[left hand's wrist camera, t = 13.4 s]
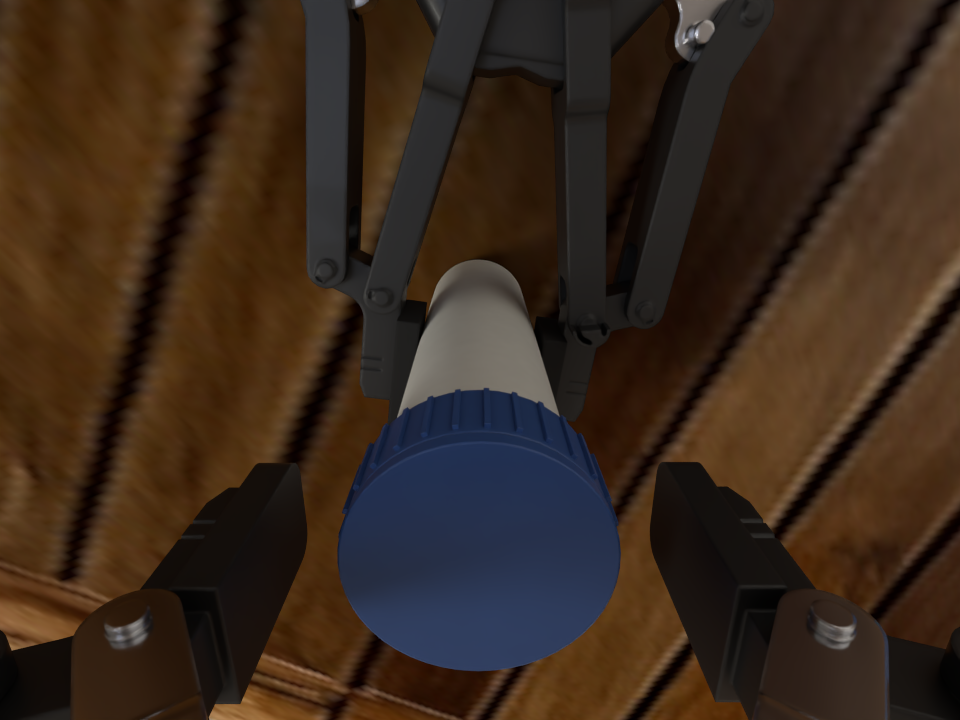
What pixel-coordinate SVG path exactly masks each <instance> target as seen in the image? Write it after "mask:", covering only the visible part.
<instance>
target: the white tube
mask: <svg viewBox="0 0 960 720" xmlns="http://www.w3.org/2000/svg"><path fill="white" fill-rule="evenodd" d="M484 388H489V390H491V391H501V392H505V393H510V394H511V393H512V392H516V393H517V394H518V396H521V397H524V398H527V399H530V400H532V401H534V402H536V403H538V401H540V402H542V403H543V404H544V407H546V408H548V409H549V410H551V411H552V412H554V413H555V414H557V415H558V416H559V413H558V410H557V406H556V403H555V400H554V396H553V393H552V390H551V387H550V383H549V380H548V377H547V374H546V370H545V367H544V364H543V360H542V357H541V354H540V351H539V347H538V344H537V341H536V338H535V334H534V331H533V328H532V324H531V321H530V318H529V315H528V311H527V308H526V305H525V302H524V298H523V295H522V292H521V289H520V286H519V284H518V282H517V281H516V279H515V278H514V276H513V275H512V274H511V273H510V272H509V271H508V270H506V269H505V268H504V267H502V266H500V265H498V264H496V263H494V262H491V261H487V260H470V261H465V262H462V263H460V264H457V265H455V266H454V267H452V268H451V269H450V270H448V271H447V272H446V273H445V274H444V275H443V276H442V278H441V279H440V281H439V282H438V284H437V286H436V289H435V292H434V295H433V298H432V302H431V305H430V308H429V312H428V315H427V318H426V322H425V325H424V329H423V332H422V335H421V339H420V342H419V345H418V349H417V352H416V356H415V359H414V362H413V366H412V369H411V372H410V376H409V379H408V383H407V386H406V389H405V393H404V396H403V399H402V403H401V406H400V410H399V413H398V416H397V418H398V417H399V416H400V415H401V414H402V412H403V410H404V409H405V408H407V407H408V408H409V409H411V408H412V407H414V406H416V405H417V404H419V403H422V402H424V401H426V400H427V398H428V397H429V396H432V395H433V397H437V396H440V395H444V394H447V393H452V392H455V390H456V389H461V391H465V390H483V389H484ZM559 417H560V416H559Z"/></svg>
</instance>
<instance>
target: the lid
mask: <svg viewBox="0 0 960 720" xmlns="http://www.w3.org/2000/svg"><path fill="white" fill-rule="evenodd" d="M610 501H612V500H611V497H610V495H609V492H608V489H607V487H606V484H605V481H604V479H603V476H602V474H601V471H600V468H599V466H598V463H597V460H596V458H595V455H594V454H591V455H590V453H589V451H588V448H587V445H586V442H585V440H584V437H583V435H582V434H581V433H579V434H578V435H577V433H576V432H575V431H574V430H573V429H572V428H571V427H570V425H569V424H567V420H566V418H565V417H564V416H563V415H561V416H560V417H559V416H558V415H557V414H555V413H554V412H552V411H551V410H549V409H548V408H546V407H544V404H543V403H542V402H540V401H538V403H536V402H534V401H532V400H530V399H527V398H524V397H521V396H518V394H517V393H516V392H512V393H511V394H510V393H505V392H501V391H491V390H489V388H484V389H483V390H465V391H461V389H456V390H455V392H452V393H447V394H444V395H440V396H437V397H433V395H432V396H429V397H428V398H427V400H426V401H424V402H422V403H419V404H417V405H416V406H414V407H412V408H411V409H409V408H408V407H407V408H405V409H404V410H403V412H402V414H401V415H400V416H399V417H398V418H396V419H395V420H394V421H393V422H392V423H391V424H390V425H388V424H387V423H386V424H385V425H384V426H383V428H382V431H381V434H380V436H379V437H378V439H377V440H376V441H375V443H374V444H372V443H370V444H369V445H368V447H367V450H366V453H365V456H364V458H363V461H362V464H361V465H359V468H358V471H357V473H356V476H355V479H354V481H353V484H352V487H351V489H350V492H349V495H348V498H347V500H346V503H345V506H344V508H343V512H342V513H343V514H346V515H345V518H344V520H343V523H342V526H341V529H340V532H339V543H338V568H339V574H340V579H341V582H342V585H343V589H344V592H345V594H346V596H347V598H348V600H349V602H350V604H351V606H352V608H353V609H354V611H355V612H356V613H357V615H358V616H359V618H360V619H361V620H362V621H363V622H364V624H365V625H366V626H367V627H368V628H369V629H370V630H371V631H372V632H373V633H374V634H376V635H377V636H378V637H379V638H380V639H382V640H383V641H384V642H386V643H387V644H389V645H390V646H392V647H393V648H395V649H396V650H398V651H400V652H402V653H404V654H406V655H408V656H410V657H412V658H415V659H418V660H420V661H423V662H425V663H429V664H433V665H436V666H440V667H445V668H451V669H457V670H469V671H489V670H499V669H507V668H512V667H517V666H521V665H525V664H528V663H531V662H534V661H537V660H540V659H543V658H545V657H547V656H549V655H551V654H553V653H556V652H557V651H559V650H561V649H562V648H564V647H566V646H567V645H569V644H571V643H572V642H573V641H574V640H576V639H577V638H578V637H580V636H581V635H582V634H583V633H584V632H585V631H586V630H587V629H588V628H589V627H590V626H591V625H592V624H593V623H594V622H595V621H596V620H597V618H598V617H599V616H600V614H601V613H602V612H603V610H604V609H605V607H606V605H607V603H608V602H609V600H610V598H611V596H612V593H613V591H614V588H615V586H616V583H617V578H618V574H619V569H620V556H621V551H620V541H619V535H618V532H617V528H616V526H618V520H617V518H616V515H615V512H614V510H613V507H612V504H611V502H610Z"/></svg>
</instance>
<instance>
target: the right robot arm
mask: <svg viewBox="0 0 960 720" xmlns="http://www.w3.org/2000/svg"><path fill="white" fill-rule="evenodd" d="M300 1H301V4H302V7H303V11H304V14H305V17H306V210H307V272H308V276H309V277H310V279H311V280H312V282H313V283H315V284H316V285H317V286H319V287H323V288H334V289H336V290H338V291H340V292H342V293H344V294H347V295H349V296H350V297H352V298H353V299H355V300H356V301H357V302H358V303H359V305H360V307H361V308H362V311H363V315H364V324H363V340H362V357H361V370H360V386H361V388H362V391H363V394H364V397H369V398H377V399H386V400H390V404H389V416H388V425H390V424H391V423H392V422H393V421H394V420H395V419H396V418H397V416H398V413H399V410H400V406H401V403H402V399H403V396H404V393H405V389H406V386H407V383H408V379H409V376H410V372H411V369H412V366H413V362H414V359H415V356H416V352H417V349H418V345H419V342H420V339H421V335H422V332H423V329H424V325H425V316H426V306H427V302H421V301H414V300H406V294H407V288H408V286H409V284H410V282H411V281H410V279H411V276H412V273H413V270H414V267H415V264H416V261H417V257H418V254H419V251H420V248H421V245H422V242H423V239H424V235H425V232H426V229H427V226H428V223H429V220H430V217H431V213H432V210H433V207H434V204H435V201H436V198H437V195H438V191H439V188H440V185H441V182H442V179H443V176H444V173H445V169H446V166H447V163H448V160H449V157H450V154H451V151H452V147H453V144H454V141H455V138H456V135H457V132H458V129H459V125H460V122H461V119H462V116H463V113H464V110H465V107H466V105H467V102H468V99H469V96H470V93H471V90H472V87H473V83H474V80H475V77H476V76H479V77H485V78H495V77H502V76H509V75H518V76H520V77H522V78H524V79H526V80H528V81H531V82H533V83H535V84H537V85H539V86H545V87H551V99H552V116H553V121H554V138H555V175H556V212H557V250H558V287H559V308H560V314H559V320H558V321H557V319H553V318H546V317H538V316H537V317H536V323H535V329H534V334H535V338H536V341H537V344H538V347H539V351H540V354H541V357H542V360H543V364H544V367H545V370H546V374H547V377H548V380H549V383H550V387H551V390H552V393H553V396H554V400H555V403H556V406H557V410H558V413H559V416H561V415H563V416H564V417H565V418H566V420H567V421H573V422H575V420H576V419H577V417H578V416H579V415H580V413H581V412H582V410H583V407H584V402H585V397H586V393H587V388H588V383H589V379H590V375H591V370H592V366H593V361H594V356H595V352H596V348H597V347H600V346H601V345H602V344H604V343H605V342H606V341H607V339H608V338H609V336H610V332H611V331H614V330H618V329H623V328H627V327H632V326H635V327H637V328H640V329H648V328H651V327H653V326H655V325H656V324H657V323H658V322H659V321H660V320H661V318H662V316H663V314H664V311H665V308H666V304H667V301H668V297H669V294H670V290H671V287H672V284H673V280H674V277H675V273H676V270H677V266H678V263H679V260H680V256H681V253H682V249H683V246H684V242H685V239H686V235H687V232H688V229H689V225H690V222H691V218H692V215H693V211H694V208H695V205H696V201H697V198H698V194H699V191H700V187H701V184H702V181H703V177H704V174H705V170H706V167H707V163H708V160H709V156H710V153H711V150H712V146H713V143H714V139H715V136H716V132H717V129H718V126H719V122H720V119H721V115H722V112H723V108H724V105H725V101H726V98H727V95H728V91H729V88H730V84H731V82H732V81H733V79H734V77H735V76H736V74H737V73H738V71H739V70H740V68H741V67H742V65H743V64H744V62H745V60H746V59H747V57H748V56H749V54H750V53H751V51H752V50H753V48H754V47H755V45H756V44H757V42H758V40H759V39H760V37H761V36H762V34H763V33H764V31H765V30H766V28H767V27H768V25H769V23H770V21H771V19H772V17H773V13H774V2H773V0H416V1H417V3H418V5H419V7H420V9H421V11H422V13H423V15H424V17H425V19H426V21H427V23H428V25H429V27H430V29H431V31H432V33H433V35H434V37H435V40H434V43H433V47H432V50H431V54H430V57H429V61H428V64H427V68H426V71H425V75H424V80H423V87H422V92H421V96H420V99H419V102H418V106H417V109H416V113H415V116H414V120H413V123H412V127H411V130H410V133H409V137H408V140H407V144H406V147H405V151H404V154H403V158H402V161H401V164H400V168H399V171H398V175H397V178H396V182H395V185H394V188H393V192H392V195H391V199H390V202H389V206H388V209H387V213H386V216H385V219H384V223H383V226H382V230H381V233H380V237H379V240H378V243H377V247H376V250H375V254H374V257H373V256H371V255H369V254H367V253H365V252H363V251H361V250H360V244H361V209H362V175H363V141H364V106H365V72H366V39H365V31H364V23H363V19H362V15H363V14H366V13H368V12H370V11H371V10H372V9H374V8H375V6H376V4H377V3H378V0H300ZM661 3H662V4H663V5H664V6H665V7H666V9H667V11H668V13H669V18H670V27H669V30H668V33H667V36H666V40H665V49H666V53H667V55H668V57H669V58H670V59H671V60H672V61H673V62H674V64H673V66H672V68H671V70H670V72H669V75H668V77H667V79H666V82H665V84H664V87H663V90H662V94H661V97H660V100H659V104H658V108H657V112H656V116H655V120H654V124H653V127H652V131H651V135H650V139H649V143H648V147H647V151H646V155H645V159H644V163H643V167H642V171H641V175H640V179H639V183H638V187H637V191H636V195H635V199H634V203H633V206H632V210H631V214H630V218H629V222H628V226H627V230H626V234H625V238H624V242H623V246H622V250H621V254H620V258H619V262H618V266H617V270H616V274H615V278H614V281H613V284H610V285H606V141H607V114H608V111H609V106H610V95H611V58H612V57H613V56H614V55H615V53H616V52H617V51H618V50H619V49H620V48H621V47H622V46H623V45H624V44H625V43H626V41H627V40H628V39H629V38H630V37H631V36H632V35H633V34H634V33H635V32H636V31H637V30H638V28H639V27H640V26H641V25H642V24H643V23H644V22H645V21H646V20H647V19H648V18H649V16H650V15H651V14H652V13H653V12H654V11H655V10H656V9H657V8H658V7H659V6H660V4H661Z"/></svg>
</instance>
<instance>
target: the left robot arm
mask: <svg viewBox="0 0 960 720" xmlns="http://www.w3.org/2000/svg"><path fill="white" fill-rule="evenodd" d="M650 541H651V548H652V552H653V556H654V559H655V561H656V563H657V566H658V568H659V570H660V573H661V575H662V577H663V580H664V582H665V584H666V587H667V589H668V591H669V594H670V596H671V599H672V601H673V603H674V606H675V608H676V610H677V613H678V615H679V617H680V620H681V622H682V624H683V627H684V629H685V631H686V634H687V636H688V638H689V641H690V643H691V645H692V648H693V650H694V653H695V655H696V657H697V660H698V662H699V664H700V667H701V669H702V671H703V674H704V676H705V678H706V681H707V683H708V685H709V688H710V690H711V692H712V695H713V697H714V699H715V702H741V704H742V706H743V708H744V710H745V712H746V715H747V717H748V719H749V720H960V627H959V628H957V629H955V630H954V632H953V633H952V635H951V638H950V640H949V643H948V645H947V648H946V649H942V648H937V647H933V646H929V645H925V644H920V643H916V642H912V641H908V640H904V639H899V638H895V637H891V636H887V635H886V634H885V632H884V630H883V629H882V627H881V626H880V625H879V623H878V622H877V621H876V620H875V619H874V618H873V617H872V616H871V615H870V614H869V613H867V612H866V611H865V610H863V609H862V608H861V607H859V606H858V605H856V604H854V603H853V602H851V601H849V600H847V599H845V598H843V597H840V596H838V595H835V594H833V593H829V592H826V591H822V590H817V589H816V588H815V587H814V586H813V584H812V583H811V582H810V580H809V579H808V578H807V577H806V575H805V574H804V573H803V571H802V570H801V569H800V567H799V566H798V565H797V563H796V562H795V561H794V559H793V558H792V557H791V556H790V554H789V553H788V552H787V550H786V549H785V548H784V546H783V545H782V544H781V542H780V541H779V540H778V539H777V538H775V537H774V533H773V532H772V531H771V529H770V528H769V527H768V525H767V524H766V523H763V519H762V518H761V516H760V515H759V514H758V512H757V511H756V510H755V508H754V507H753V506H752V504H751V503H750V502H749V501H747V500H746V499H745V498H743V497H742V496H740V495H739V494H737V493H736V492H734V491H733V490H732V489H730V488H729V487H717V486H716V484H715V483H714V481H713V480H712V479H711V477H710V476H709V474H708V473H707V472H706V470H705V469H704V467H703V466H702V465H701V464H700V463H699V462H661V463H660V465H659V467H658V470H657V476H656V483H655V491H654V499H653V507H652V515H651V523H650ZM306 543H307V523H306V515H305V507H304V499H303V492H302V484H301V476H300V471H299V467H298V465H297V464H296V463H258V464H256V465H255V466H254V468H253V469H252V471H251V472H250V473H249V475H248V476H247V478H246V479H245V480H244V482H243V483H242V485H241V486H240V487H239V488H228V489H226V490H225V491H224V492H222V493H221V494H219V495H218V496H216V497H215V498H213V499H212V500H211V501H209V502H208V503H207V504H206V505H205V506H204V507H203V509H202V510H201V511H200V513H199V514H198V515H197V516H196V518H195V519H194V520H193V524H190V526H189V527H188V528H187V529H186V531H185V532H184V533H183V535H182V538H181V540H178V541H177V542H176V544H175V545H174V546H173V548H172V549H171V550H170V552H169V553H168V554H167V555H166V557H165V558H164V559H163V561H162V562H161V563H160V564H159V566H158V567H157V568H156V570H155V571H154V572H153V574H152V575H151V576H150V577H149V579H148V580H147V581H146V583H145V584H144V585H143V587H142V588H141V589H140V590H138V591H134V592H131V593H127V594H125V595H122V596H120V597H117V598H115V599H113V600H111V601H109V602H107V603H106V604H104V605H102V606H101V607H99V608H98V609H97V610H95V611H94V612H93V613H91V614H90V615H89V616H88V617H87V618H86V619H85V620H84V621H83V622H82V623H81V625H80V626H79V627H78V629H77V630H76V632H75V634H74V636H71V637H67V638H64V639H59V640H55V641H51V642H47V643H43V644H38V645H34V646H30V647H26V648H21V649H17V650H13V651H11V648H10V645H9V643H8V640H7V638H6V635H5V634H4V633H3V632H2V631H1V630H0V720H209V716H210V713H211V711H212V709H213V707H214V705H215V704H240V703H241V701H242V699H243V697H244V694H245V692H246V690H247V687H248V685H249V683H250V680H251V678H252V676H253V673H254V671H255V669H256V666H257V664H258V662H259V659H260V657H261V655H262V653H263V650H264V648H265V646H266V643H267V641H268V639H269V636H270V634H271V632H272V629H273V627H274V625H275V622H276V620H277V618H278V615H279V613H280V611H281V609H282V606H283V604H284V602H285V599H286V597H287V595H288V592H289V590H290V588H291V585H292V583H293V581H294V578H295V576H296V574H297V571H298V569H299V567H300V565H301V562H302V560H303V557H304V554H305V550H306Z"/></svg>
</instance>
